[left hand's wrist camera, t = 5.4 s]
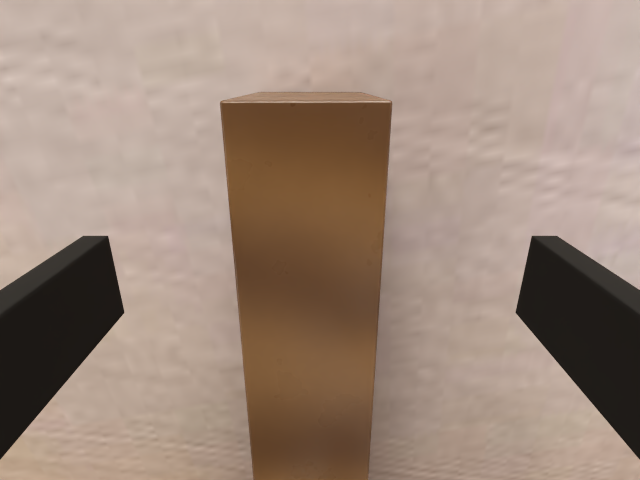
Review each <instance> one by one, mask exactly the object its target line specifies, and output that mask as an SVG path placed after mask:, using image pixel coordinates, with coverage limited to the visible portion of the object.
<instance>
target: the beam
mask: <svg viewBox="0 0 640 480" xmlns="http://www.w3.org/2000/svg"><path fill="white" fill-rule="evenodd" d="M220 109H221V120H222V131H223V142H224V153H225V165H226V176H227V187H228V198H229V209H230V220H231V232H232V243H233V254H234V265H235V276H236V288H237V299H238V310H239V321H240V332H241V344H242V355H243V366H244V377H245V388H246V400H247V411H248V422H249V433H250V444H251V456H252V467H253V478H254V480H368V470H369V455H370V439H371V424H372V408H373V393H374V378H375V362H376V347H377V331H378V316H379V300H380V285H381V269H382V254H383V238H384V223H385V207H386V192H387V176H388V161H389V145H390V130H391V114H392V101H390V100H386V99H382V98H379V97H375V96H372V95H368V94H365V93H361V92H258V93H254V94H249V95H245V96H241V97H236V98H232V99H227V100H223V101H221V102H220Z"/></svg>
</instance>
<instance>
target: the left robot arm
mask: <svg viewBox="0 0 640 480" xmlns="http://www.w3.org/2000/svg"><path fill="white" fill-rule="evenodd" d="M123 314H124V309H123V304H122V299H121V295H120V290H119V285H118V281H117V276H116V271H115V266H114V262H113V257H112V252H111V248H110V243H109V238H108V236H82V237H81V238H79V239H78V240H76V241H75V242H73V243H72V244H70V245H69V246H67V247H66V248H64V249H63V250H61V251H60V252H58V253H56V254H55V255H53V256H52V257H50V258H49V259H47V260H46V261H44V262H43V263H41V264H40V265H38V266H37V267H35V268H34V269H32V270H31V271H29V272H27V273H26V274H24V275H23V276H21V277H20V278H18V279H17V280H15V281H14V282H12V283H11V284H9V285H8V286H6V287H5V288H3V289H1V290H0V459H1V458H2V457H3V456H4V454H5V453H6V452H7V451H8V450H9V448H10V447H11V446H12V445H13V444H14V443H15V441H16V440H17V439H18V438H19V437H20V435H21V434H22V433H23V432H24V431H25V430H26V428H27V427H28V426H29V425H30V424H31V422H32V421H33V420H34V419H35V418H36V417H37V415H38V414H39V413H40V412H41V411H42V409H43V408H44V407H45V406H46V405H47V404H48V402H49V401H50V400H51V399H52V398H53V396H54V395H55V394H56V393H57V392H58V391H59V389H60V388H61V387H62V386H63V385H64V383H65V382H66V381H67V380H68V379H69V377H70V376H71V375H72V374H73V373H74V372H75V370H76V369H77V368H78V367H79V366H80V364H81V363H82V362H83V361H84V360H85V359H86V357H87V356H88V355H89V354H90V353H91V351H92V350H93V349H94V348H95V347H96V346H97V344H98V343H99V342H100V341H101V340H102V338H103V337H104V336H105V335H106V334H107V333H108V331H109V330H110V329H111V328H112V327H113V325H114V324H115V323H116V322H117V321H118V320H119V318H120V317H121V316H122V315H123ZM516 314H517V315H518V316H519V317H520V318H521V320H522V321H523V322H524V323H525V324H526V325H527V327H528V328H529V329H530V330H531V331H532V333H533V334H534V335H535V336H536V337H537V338H538V340H539V341H540V342H541V343H542V344H543V346H544V347H545V348H546V349H547V350H548V351H549V353H550V354H551V355H552V356H553V357H554V359H555V360H556V361H557V362H558V363H559V364H560V366H561V367H562V368H563V369H564V370H565V372H566V373H567V374H568V375H569V376H570V377H571V379H572V380H573V381H574V382H575V383H576V385H577V386H578V387H579V388H580V389H581V391H582V392H583V393H584V394H585V395H586V396H587V398H588V399H589V400H590V401H591V402H592V404H593V405H594V406H595V407H596V408H597V409H598V411H599V412H600V413H601V414H602V415H603V417H604V418H605V419H606V420H607V421H608V422H609V424H610V425H611V426H612V427H613V428H614V430H615V431H616V432H617V433H618V434H619V435H620V437H621V438H622V439H623V440H624V441H625V443H626V444H627V445H628V446H629V447H630V448H631V450H632V451H633V452H634V453H635V454H636V456H637V457H638V458H639V459H640V290H639V289H637V288H635V287H634V286H632V285H631V284H629V283H628V282H626V281H625V280H623V279H622V278H620V277H619V276H617V275H616V274H614V273H613V272H611V271H609V270H608V269H606V268H605V267H603V266H602V265H600V264H599V263H597V262H596V261H594V260H593V259H591V258H590V257H588V256H587V255H585V254H584V253H582V252H580V251H579V250H577V249H576V248H574V247H573V246H571V245H570V244H568V243H567V242H565V241H564V240H562V239H561V238H559V237H558V236H532V238H531V243H530V248H529V252H528V257H527V262H526V266H525V271H524V276H523V281H522V285H521V290H520V295H519V299H518V304H517V309H516Z"/></svg>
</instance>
